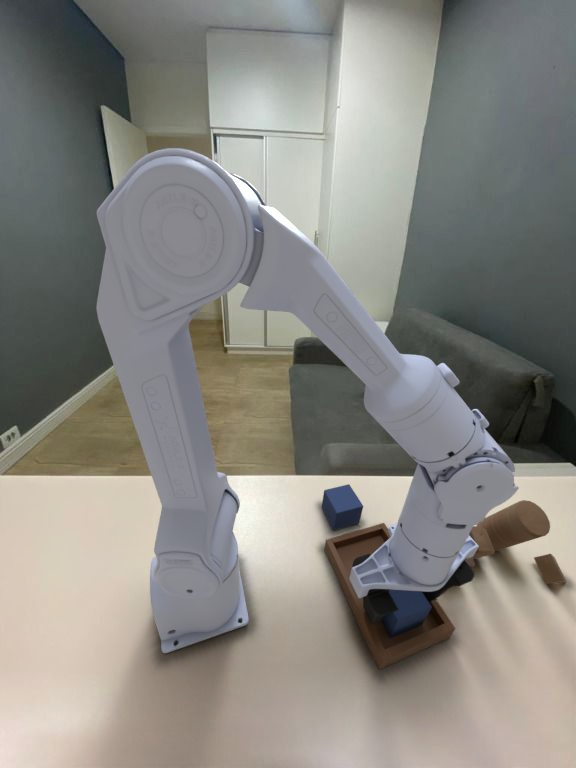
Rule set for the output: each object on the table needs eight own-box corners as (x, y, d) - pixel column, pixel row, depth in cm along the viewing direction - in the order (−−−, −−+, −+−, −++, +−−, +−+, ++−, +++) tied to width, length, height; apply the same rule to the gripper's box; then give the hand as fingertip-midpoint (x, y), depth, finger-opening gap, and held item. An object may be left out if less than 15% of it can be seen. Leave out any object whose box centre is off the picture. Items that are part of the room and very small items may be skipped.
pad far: (333, 530, 47) (336, 513, 45) (321, 507, 51) (324, 489, 49) (359, 523, 48) (363, 506, 46) (345, 500, 52) (349, 483, 50)
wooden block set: (431, 589, 42) (468, 582, 34) (413, 522, 48) (441, 502, 39) (557, 583, 43) (622, 575, 35) (525, 518, 48) (576, 497, 40)
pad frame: (378, 669, 33) (382, 661, 32) (324, 548, 44) (325, 539, 43) (450, 637, 36) (455, 628, 35) (381, 531, 47) (383, 522, 46)
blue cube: (390, 638, 35) (397, 621, 33) (368, 597, 38) (374, 578, 36) (422, 624, 36) (432, 607, 34) (399, 585, 40) (406, 567, 38)
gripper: (456, 482, 35) (425, 554, 42) (343, 512, 31) (328, 587, 37) (513, 537, 29) (466, 610, 36) (384, 583, 25) (357, 657, 32)
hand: (398, 603), depth 36 cm, fingers open, 7 cm apart
